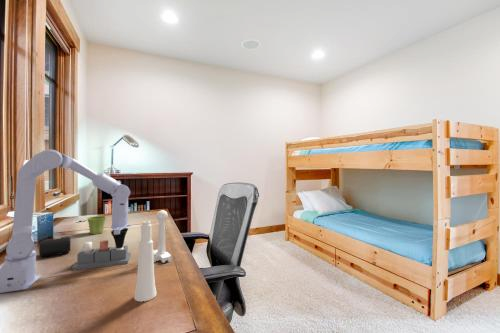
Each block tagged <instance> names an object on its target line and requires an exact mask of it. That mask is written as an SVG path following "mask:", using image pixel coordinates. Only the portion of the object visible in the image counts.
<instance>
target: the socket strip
mask: <svg viewBox="0 0 500 333" xmlns="http://www.w3.org/2000/svg"><path fill="white" fill-rule="evenodd" d="M123 247H124V249H121V250H116V246H110V247H109V246H108V251H101V252H100V247H98V248H92V252H90V253H83V249H81V250H80V251H79V252H78V253H77V256H76V258H77V259H76V262H75V263H74V264H73V266H72V271H76V270H77V271H78V270H85V269H93V268H101V267H110V266H111V267H112V266H117V265H118V266H121V265H127V264H129V261H130V258H131V254H132V253H131V252H128V250H129V248H128V247H129V245H123Z"/></svg>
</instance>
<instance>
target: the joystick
mask: <svg viewBox="0 0 500 333" xmlns="http://www.w3.org/2000/svg"><path fill="white" fill-rule="evenodd" d="M155 215H156V216H155V218H156V220H157V221H158V236H157V239H158V240H157V249H153V256H154V263H157V262H158V261H161V263H164V264H165V263H166V262H167V263H170V262H171V261H172V254H170V253H169V252H168V251H166V229H165V226H166V225H165V222H166V220H167V219H168V216H169V215H168V212H167V211H166V210H164V209H162V210H159V211H157V213H156V214H155ZM156 261H157V262H156Z"/></svg>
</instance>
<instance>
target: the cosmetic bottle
mask: <svg viewBox="0 0 500 333" xmlns="http://www.w3.org/2000/svg"><path fill="white" fill-rule="evenodd" d="M140 226H141V227H140V241H139V243H138V244H139V245H138V255H137V256H138V257H137V258H138V260H137V275H136V283H135V284H136V285H135V291H134V296H133V298H134V301H136V302H143V301H144V302H147V301H148V302H149V301H151V300H153V299H154V298H155V297H156V296H157V289H156V282H155V262H154V256H153V250H154V241H153V240H152V223H151V220H144V221H142V224H141V225H140Z"/></svg>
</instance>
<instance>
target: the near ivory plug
mask: <svg viewBox="0 0 500 333" xmlns="http://www.w3.org/2000/svg"><path fill="white" fill-rule="evenodd" d="M82 245H83V246H82V247H83V248H82V250H83V253H90V252H92V249H93V241H84V242H83V243H82Z"/></svg>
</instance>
